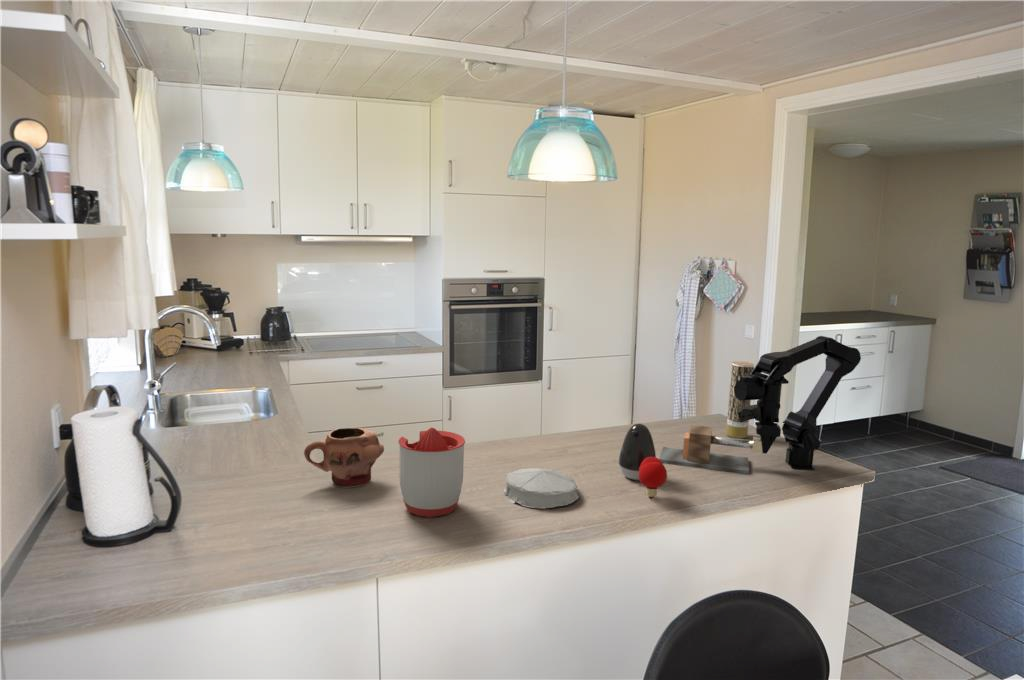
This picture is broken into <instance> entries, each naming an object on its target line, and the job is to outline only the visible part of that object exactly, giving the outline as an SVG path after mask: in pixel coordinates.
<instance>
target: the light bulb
mask: <svg viewBox="0 0 1024 680" xmlns="http://www.w3.org/2000/svg"><path fill="white" fill-rule="evenodd" d="M667 478H668V472H667V468H666V467H665V465H664V463H662V462H661V461H660V460H659V458H657V456H656V457H647V458H645V459H644V460H643V462H642V463H641V465H640V468H639V480H638V481H639V482H640V484H641V485H643V486H644V487H645V488H646V489H645V492H646V493H645V495H647V496H648V498H651V499H653V498H655V497H656V496H657V495H658V488H661V487H662V486H663V485H665V483H666V481H667Z"/></svg>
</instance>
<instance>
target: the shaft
mask: <svg viewBox="0 0 1024 680" xmlns="http://www.w3.org/2000/svg"><path fill="white" fill-rule="evenodd" d="M711 444H712V445H718V446H727V447H735V448H742V449H751V451H752V453H753V454H761V455H762V454H765V453H763V451H762V441H761V437H757V436H753V437H752V440H751V439H746V438H743V439H737V438H732V437H729V436H727V437H726V436H719V435H718V436H717V435H711Z"/></svg>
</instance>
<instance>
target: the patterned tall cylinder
mask: <svg viewBox="0 0 1024 680" xmlns="http://www.w3.org/2000/svg"><path fill="white" fill-rule="evenodd" d="M754 367H755V364H754V363H753V362H747V361H732V364H731V372H730V373H731V375H730V385H729V386H730V387H729V398H728V408H727V421H726V431H725V433H726V435H727V437H728V438H736V439H746V438H747V437H748V431H749V423H750V422H749V421H750V420H746V421H745V422H740V421H739V418H738V414H737V409H738V408H741V407H745V406H750V405H751V401H752V400H742V401H741V400H738V399H737V398H736V396H735V393H734V386H735V384H736V382H737V381H739V380H740V376H749V374H750V373H751V372H752V370H753V369H754Z"/></svg>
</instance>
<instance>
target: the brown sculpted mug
mask: <svg viewBox="0 0 1024 680" xmlns="http://www.w3.org/2000/svg"><path fill="white" fill-rule="evenodd" d="M314 450H321V451H322V454H323V460H322V461H319V462H315V461H314V460H312V458H311V452H312V451H314ZM384 451H385V447H384V445H383V443H381V442H380V441H379V438H378V436H377V434H376V433H375V431H372V430H368V429H365V428H362V427H361V428H360V427H356V428H355V427H353V428H351V427H345V428H336V429H333V430H331V431H330V432H328V433H327V435H326V438H325V439H323V440H316V441H312V442H311V443H309V444H307V445H306V447H305V448H304V451H303V455H304V458H305V459H306V461H307V462H308V463H309V464H311V465H313V466H314V467H315V468H317V469H320V470H322V471H323V472H327V473H328V472H331V482H332V483H333V484H334V486H336V487H339V488H355V487H362V486H366V485H367V484H369V483H370V482H371V480H372V472H371V471H372V468H373V466H374V464H375V463H376V461H377V460H378V458H379V457H381V456H382V455H383V453H384Z"/></svg>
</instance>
